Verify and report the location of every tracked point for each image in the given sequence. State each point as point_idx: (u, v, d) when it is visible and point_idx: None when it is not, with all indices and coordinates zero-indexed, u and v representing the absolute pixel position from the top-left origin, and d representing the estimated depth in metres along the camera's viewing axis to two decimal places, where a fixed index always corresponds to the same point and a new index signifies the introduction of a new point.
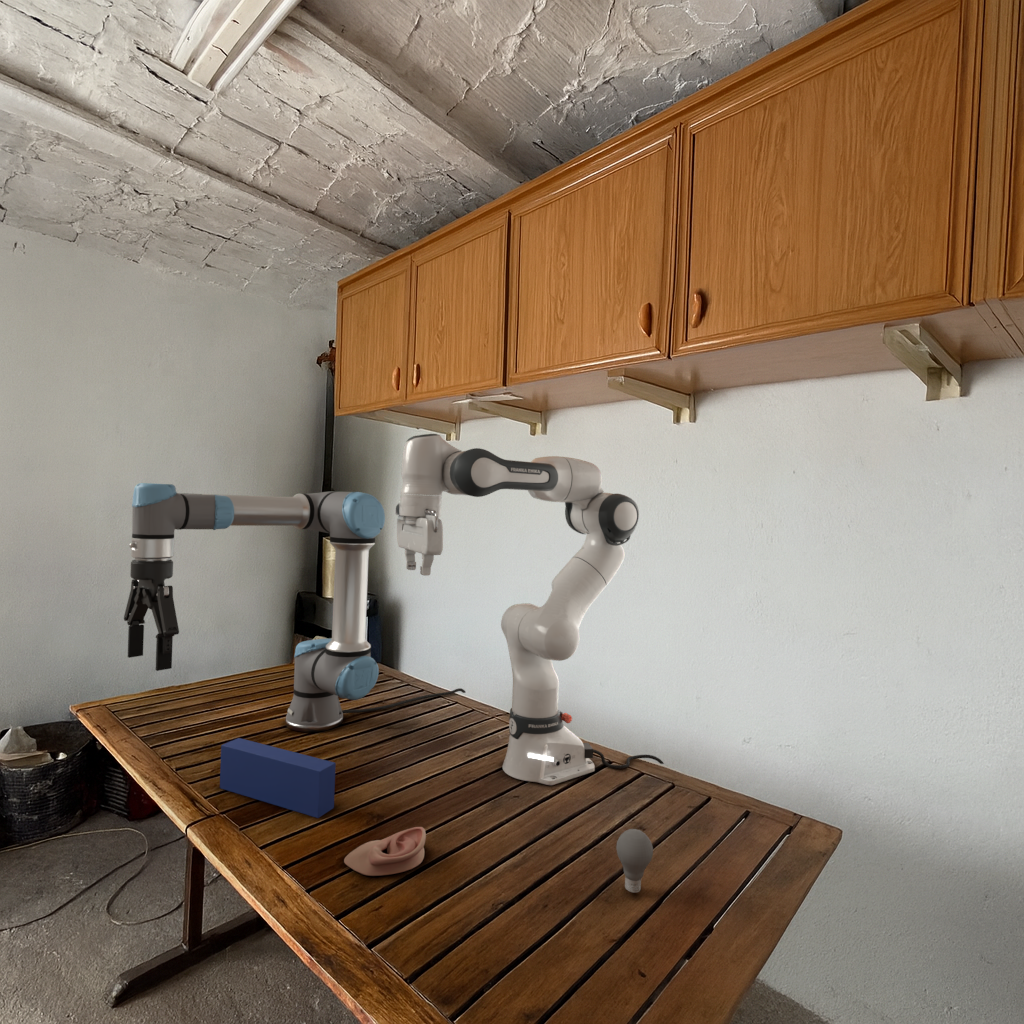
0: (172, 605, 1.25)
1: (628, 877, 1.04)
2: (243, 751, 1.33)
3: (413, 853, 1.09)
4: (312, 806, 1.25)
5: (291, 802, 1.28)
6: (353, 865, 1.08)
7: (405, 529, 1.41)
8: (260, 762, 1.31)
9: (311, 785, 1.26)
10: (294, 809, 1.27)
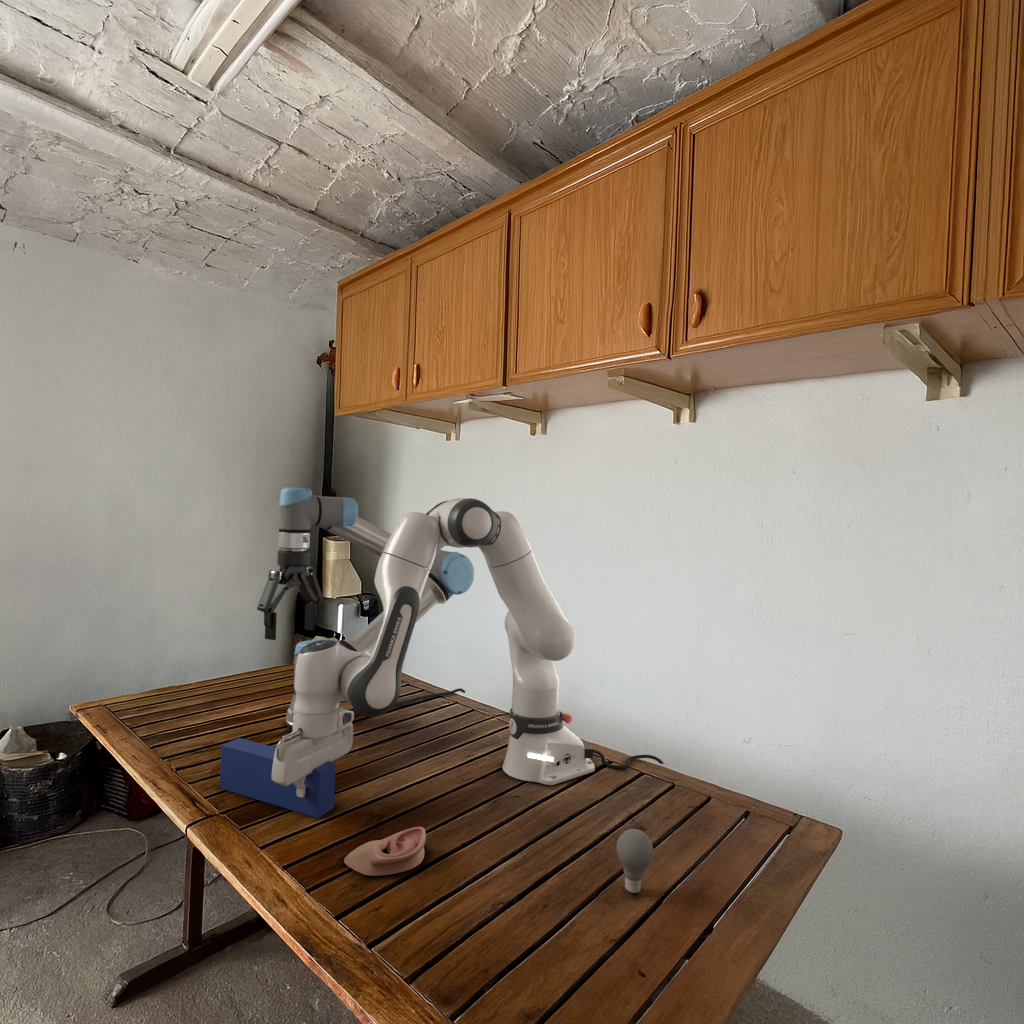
0: None
1: (628, 877, 1.04)
2: (243, 751, 1.33)
3: (413, 853, 1.09)
4: (312, 806, 1.25)
5: (291, 802, 1.28)
6: (353, 865, 1.08)
7: None
8: (260, 762, 1.31)
9: (311, 785, 1.26)
10: (294, 809, 1.27)
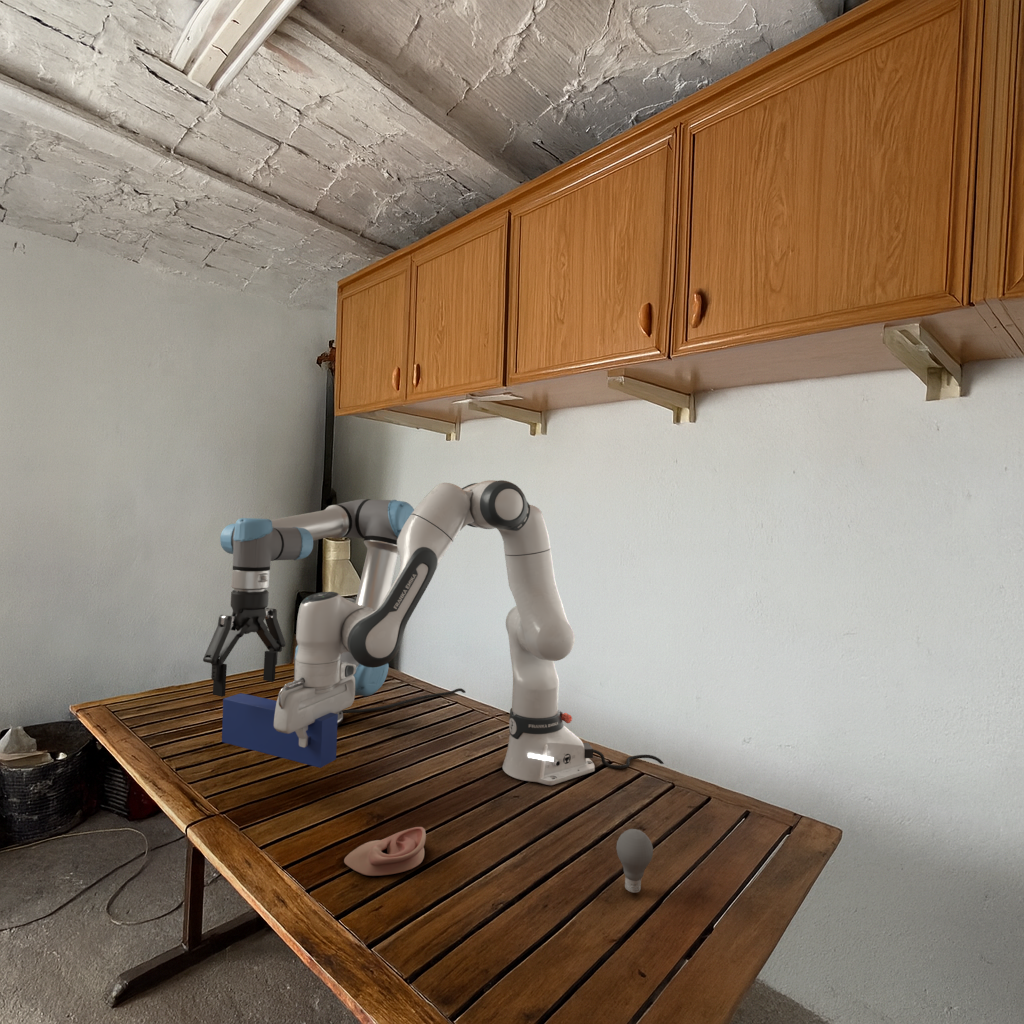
0: None
1: (628, 877, 1.04)
2: (245, 704, 1.33)
3: (413, 853, 1.09)
4: (314, 756, 1.25)
5: (293, 753, 1.28)
6: (353, 865, 1.08)
7: None
8: (262, 714, 1.31)
9: (313, 735, 1.25)
10: (296, 760, 1.27)
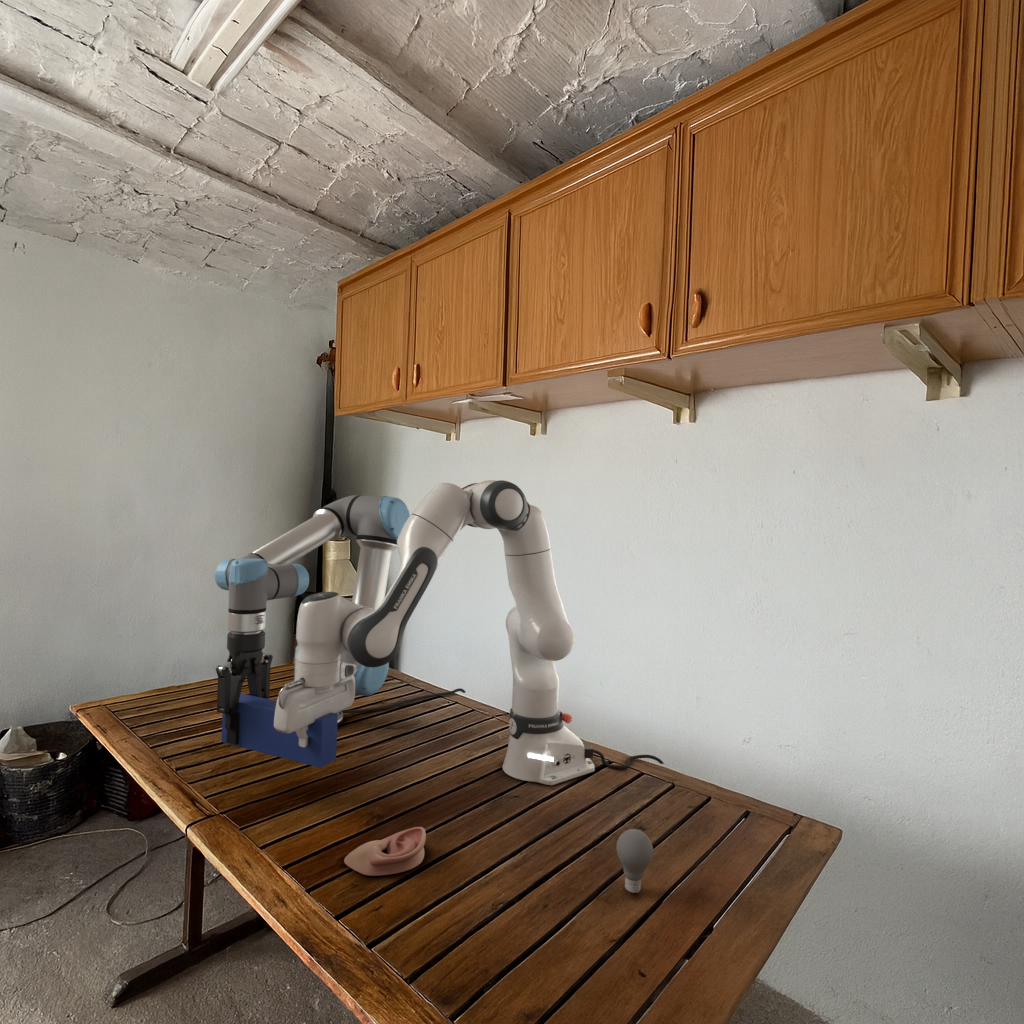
0: None
1: (628, 877, 1.04)
2: (245, 704, 1.33)
3: (413, 853, 1.09)
4: (314, 756, 1.25)
5: (293, 753, 1.28)
6: (353, 865, 1.08)
7: None
8: (262, 714, 1.31)
9: (313, 735, 1.25)
10: (296, 760, 1.27)
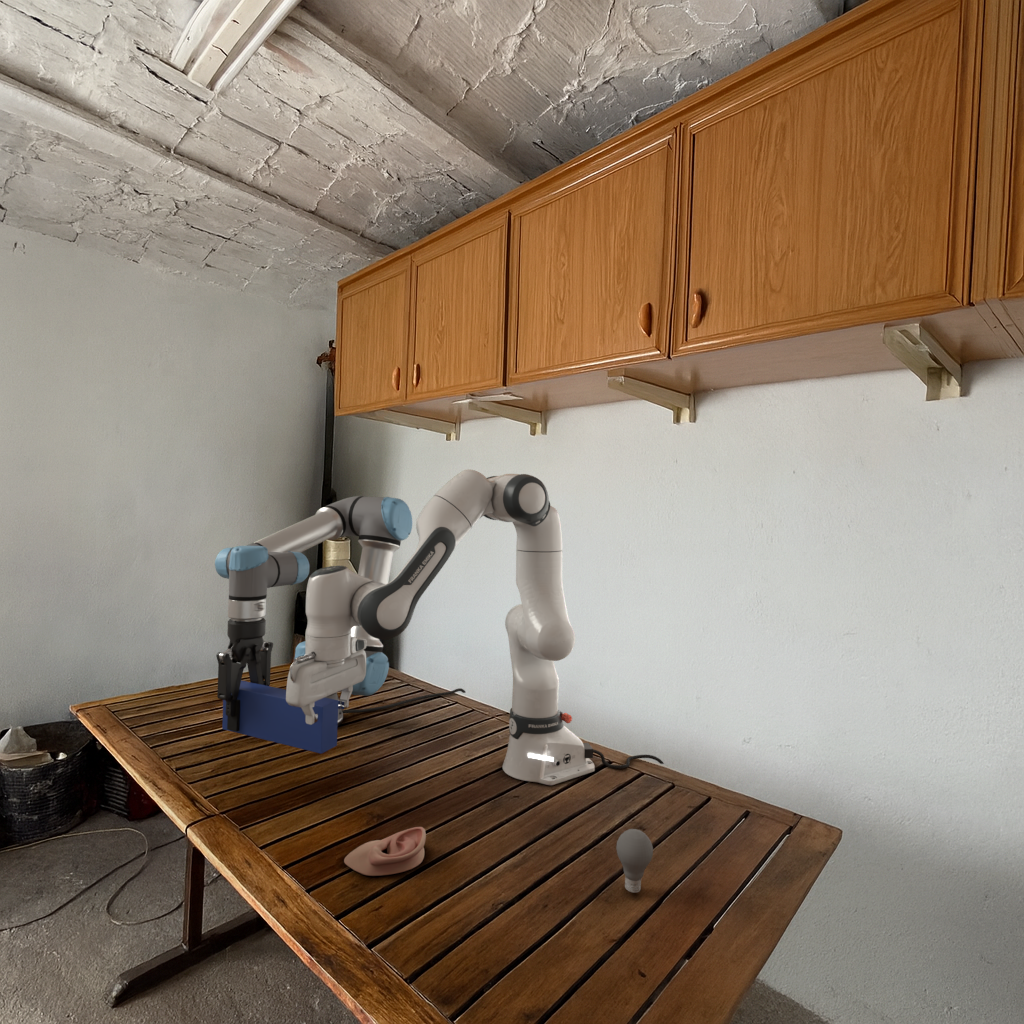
0: None
1: (628, 877, 1.04)
2: (245, 691, 1.33)
3: (413, 853, 1.09)
4: (315, 742, 1.25)
5: (294, 739, 1.28)
6: (353, 865, 1.08)
7: None
8: (262, 701, 1.31)
9: None
10: (297, 746, 1.27)
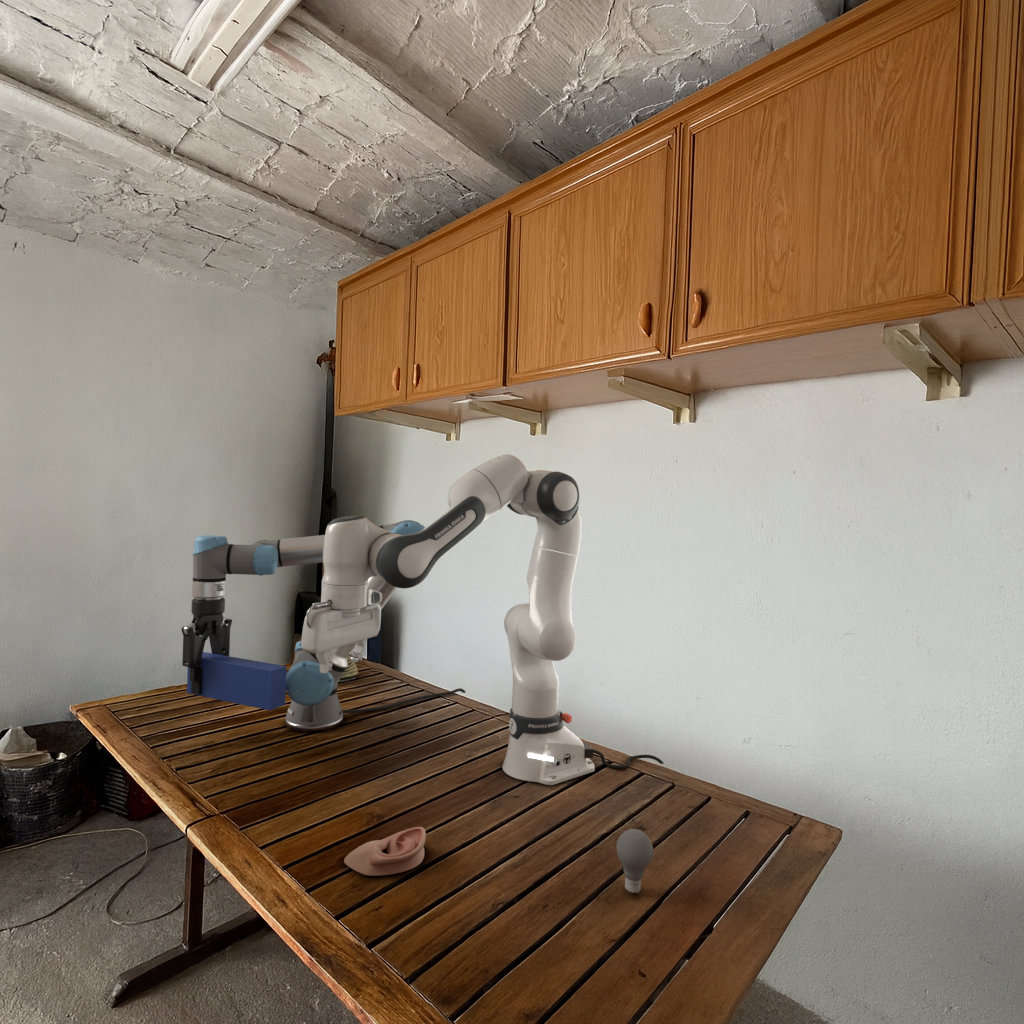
0: None
1: (628, 877, 1.04)
2: (207, 659, 1.55)
3: (413, 853, 1.09)
4: (266, 701, 1.48)
5: (248, 699, 1.50)
6: (353, 865, 1.08)
7: None
8: (221, 667, 1.53)
9: (265, 683, 1.48)
10: (251, 705, 1.50)
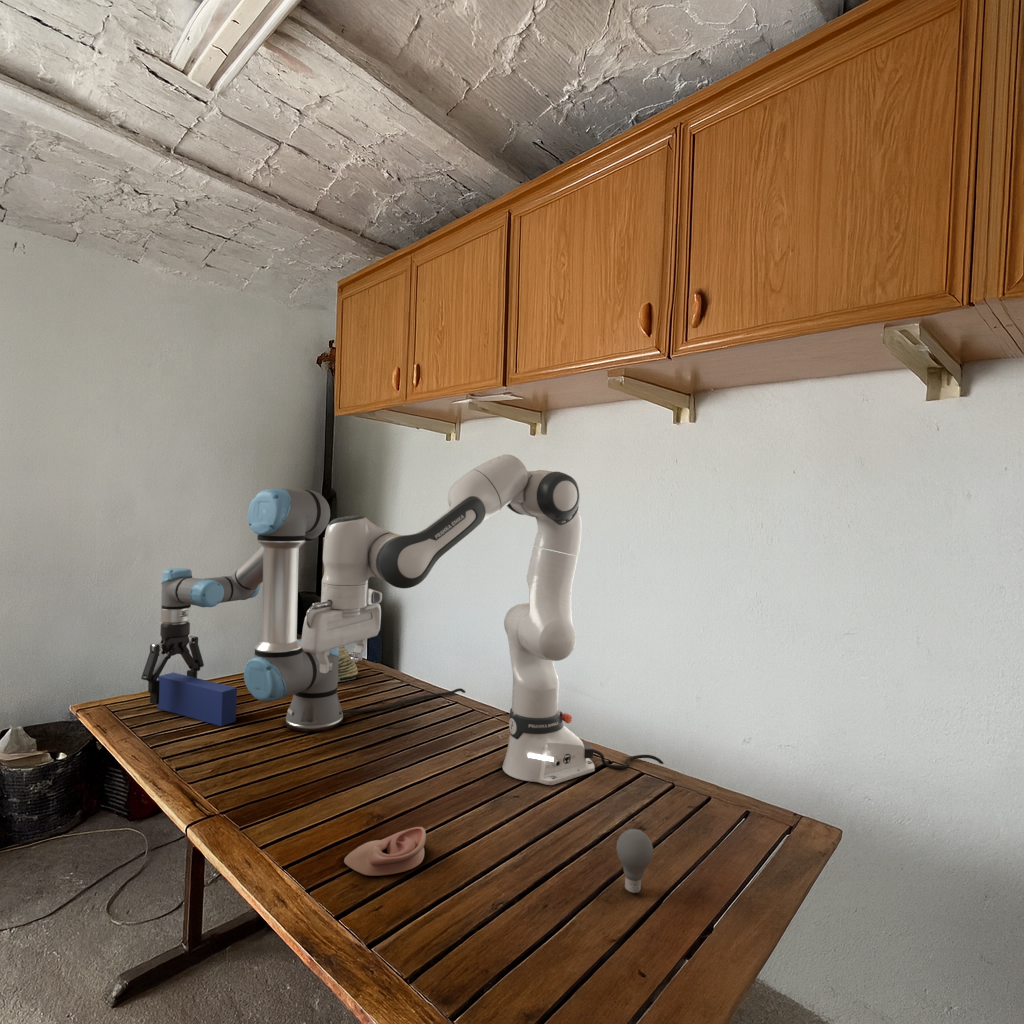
0: None
1: (628, 877, 1.04)
2: (172, 680, 1.80)
3: (413, 853, 1.09)
4: (217, 718, 1.71)
5: (204, 715, 1.74)
6: (353, 865, 1.08)
7: None
8: (183, 687, 1.77)
9: (217, 703, 1.71)
10: (206, 721, 1.73)
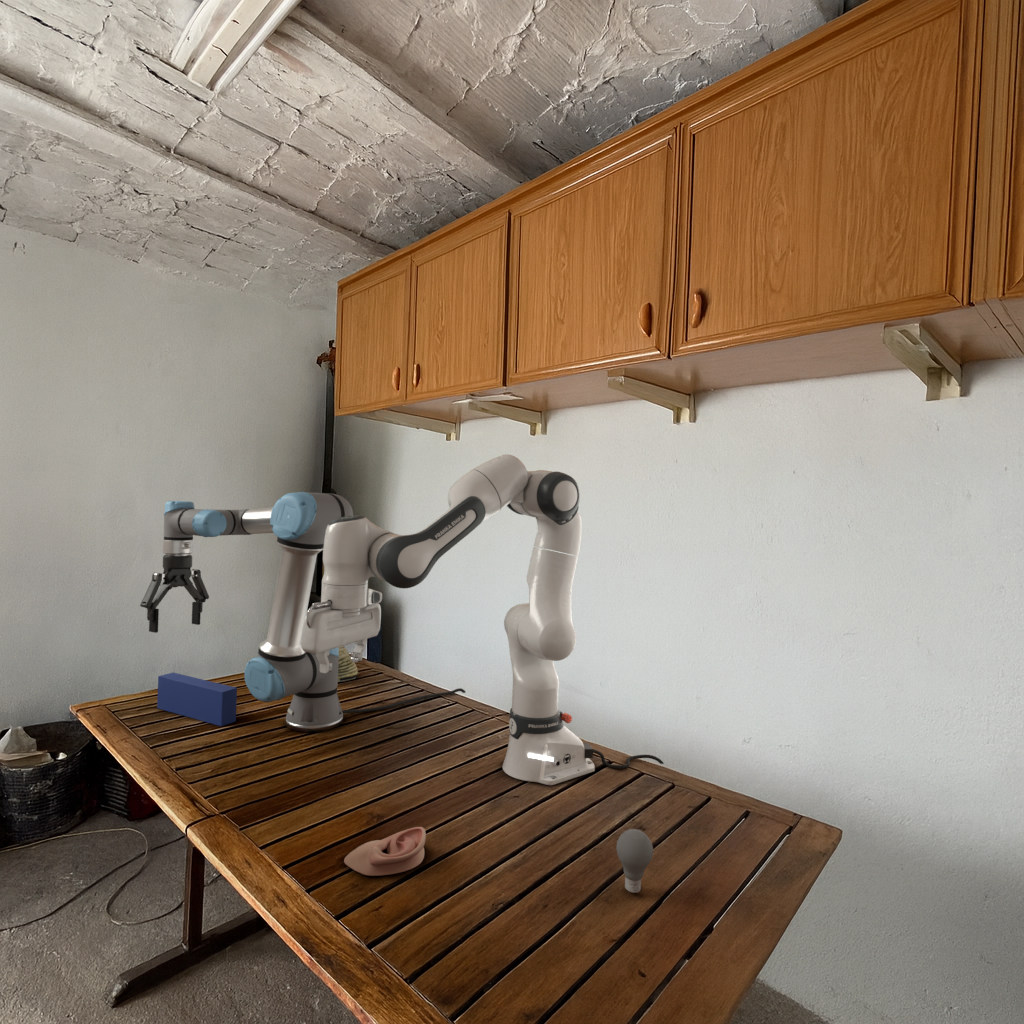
0: None
1: (628, 877, 1.04)
2: (172, 680, 1.80)
3: (413, 853, 1.09)
4: (217, 718, 1.71)
5: (204, 715, 1.74)
6: (353, 865, 1.08)
7: None
8: (183, 687, 1.77)
9: (217, 703, 1.71)
10: (206, 721, 1.73)
